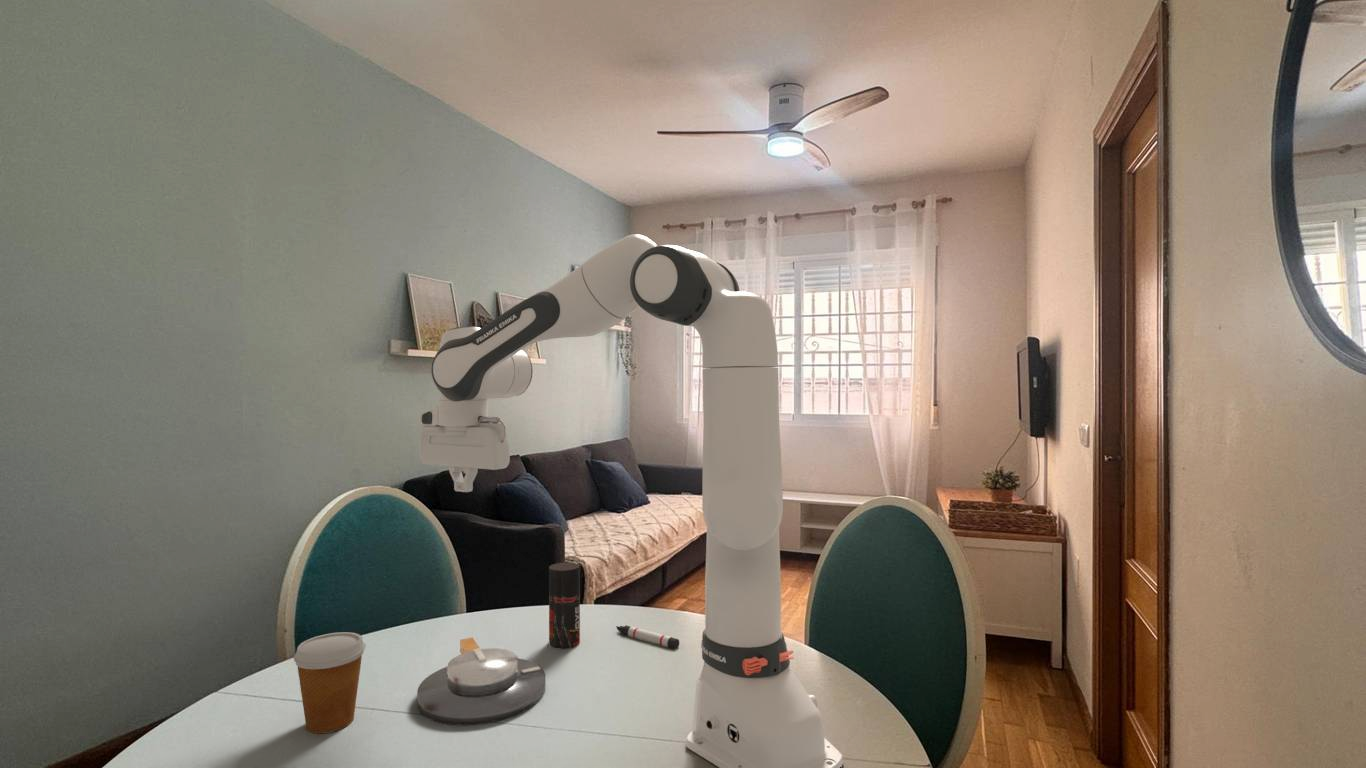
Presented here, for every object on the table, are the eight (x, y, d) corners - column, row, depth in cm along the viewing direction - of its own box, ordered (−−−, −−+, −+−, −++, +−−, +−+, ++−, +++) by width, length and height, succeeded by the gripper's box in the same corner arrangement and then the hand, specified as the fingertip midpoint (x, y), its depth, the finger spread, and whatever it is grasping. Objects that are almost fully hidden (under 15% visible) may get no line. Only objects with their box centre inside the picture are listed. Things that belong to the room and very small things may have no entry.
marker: (679, 647, 128) (679, 637, 128) (673, 651, 127) (673, 640, 127) (619, 631, 137) (619, 621, 137) (613, 634, 136) (612, 624, 136)
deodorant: (577, 649, 127) (576, 570, 127) (546, 649, 127) (546, 570, 127) (582, 637, 133) (582, 562, 133) (552, 637, 133) (552, 562, 133)
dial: (525, 685, 107) (525, 664, 107) (454, 701, 101) (454, 679, 101) (497, 646, 123) (497, 628, 123) (434, 658, 117) (434, 639, 117)
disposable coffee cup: (316, 746, 93) (316, 660, 93) (280, 728, 98) (280, 646, 98) (378, 717, 101) (378, 638, 101) (342, 702, 106) (342, 626, 106)
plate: (562, 704, 105) (562, 689, 105) (428, 738, 95) (428, 722, 95) (525, 659, 122) (525, 647, 122) (408, 684, 112) (408, 670, 112)
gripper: (517, 416, 119) (517, 493, 119) (440, 414, 130) (440, 485, 130) (491, 417, 114) (491, 498, 114) (412, 415, 124) (412, 489, 124)
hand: (463, 491), depth 122 cm, fingers closed
